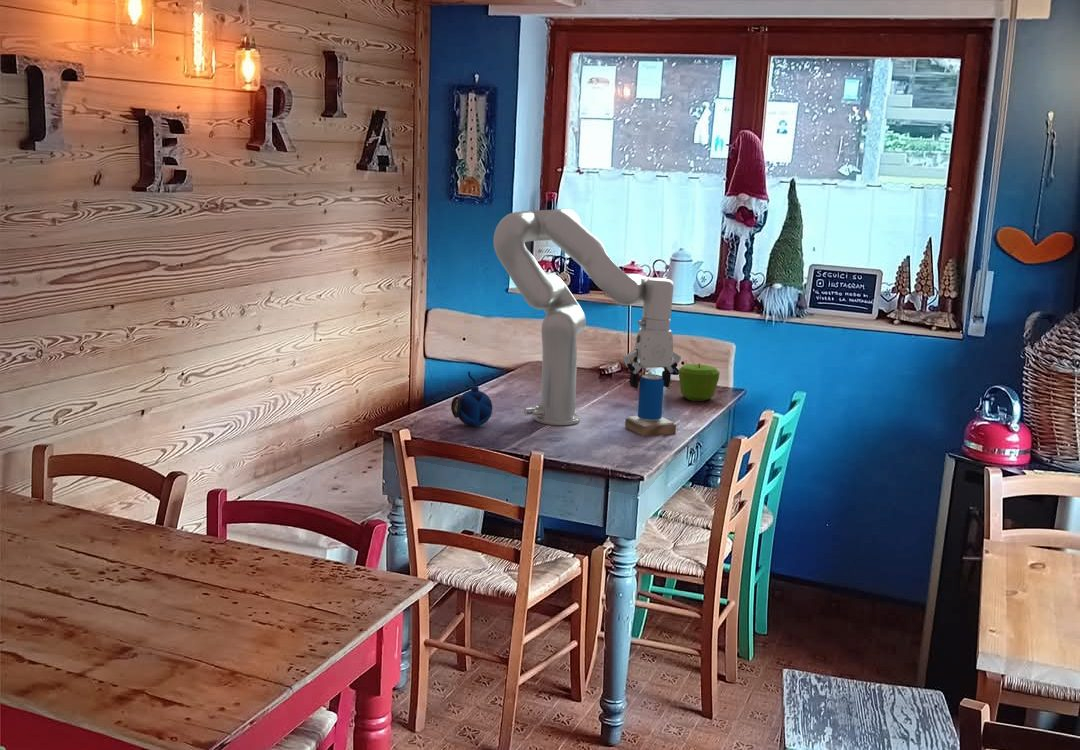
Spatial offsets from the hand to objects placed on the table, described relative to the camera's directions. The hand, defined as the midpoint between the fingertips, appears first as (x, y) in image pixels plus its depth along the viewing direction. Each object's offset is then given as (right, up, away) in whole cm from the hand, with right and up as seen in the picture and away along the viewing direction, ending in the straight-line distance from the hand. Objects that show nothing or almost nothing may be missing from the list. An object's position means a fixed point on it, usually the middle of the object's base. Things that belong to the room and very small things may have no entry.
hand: (649, 386), depth 295 cm
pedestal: (0, -12, +2) cm, 12 cm away
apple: (+19, -4, +43) cm, 47 cm away
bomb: (-48, -11, 0) cm, 49 cm away
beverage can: (0, -9, +2) cm, 9 cm away
